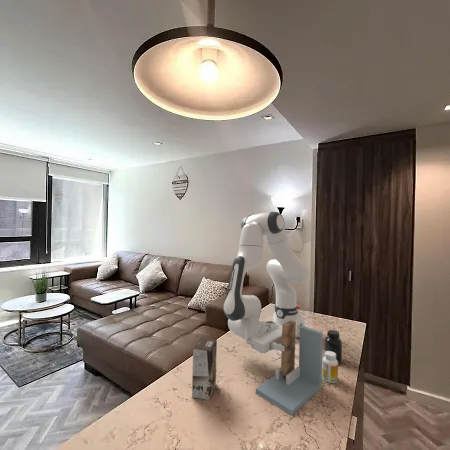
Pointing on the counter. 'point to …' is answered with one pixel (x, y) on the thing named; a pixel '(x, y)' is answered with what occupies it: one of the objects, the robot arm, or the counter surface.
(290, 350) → the door panel
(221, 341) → the counter surface
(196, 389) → the coffee box
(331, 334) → the supplement bottle
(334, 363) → the supplement bottle
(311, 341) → the blue-grey l-shaped stand
